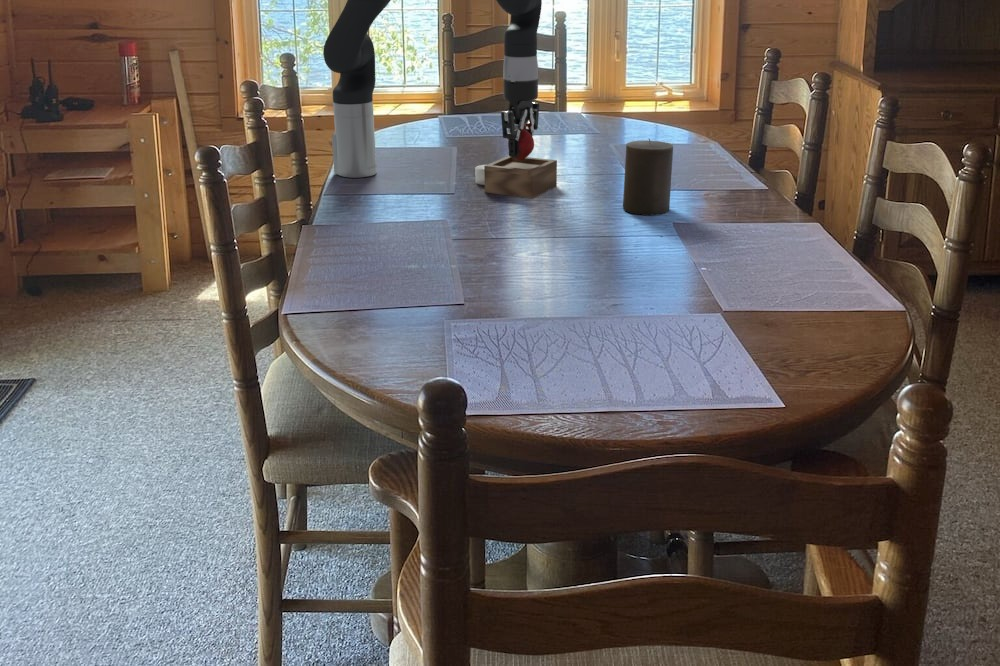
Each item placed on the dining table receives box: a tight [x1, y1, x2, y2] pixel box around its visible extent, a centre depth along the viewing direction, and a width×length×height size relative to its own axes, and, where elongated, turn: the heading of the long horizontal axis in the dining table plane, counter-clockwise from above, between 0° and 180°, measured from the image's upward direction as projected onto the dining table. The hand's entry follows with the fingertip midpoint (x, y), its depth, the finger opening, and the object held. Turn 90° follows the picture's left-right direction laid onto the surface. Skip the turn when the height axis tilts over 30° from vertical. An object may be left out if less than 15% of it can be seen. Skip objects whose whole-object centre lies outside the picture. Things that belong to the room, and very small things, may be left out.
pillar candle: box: [622, 138, 674, 216], centre depth 219 cm, size 10×10×15 cm
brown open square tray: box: [484, 155, 558, 199], centre depth 237 cm, size 12×12×6 cm
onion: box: [507, 126, 535, 161], centre depth 235 cm, size 6×6×8 cm
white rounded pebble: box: [474, 164, 486, 186], centre depth 245 cm, size 6×6×4 cm
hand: (520, 153), depth 236 cm, fingers closed on onion, 6 cm apart
